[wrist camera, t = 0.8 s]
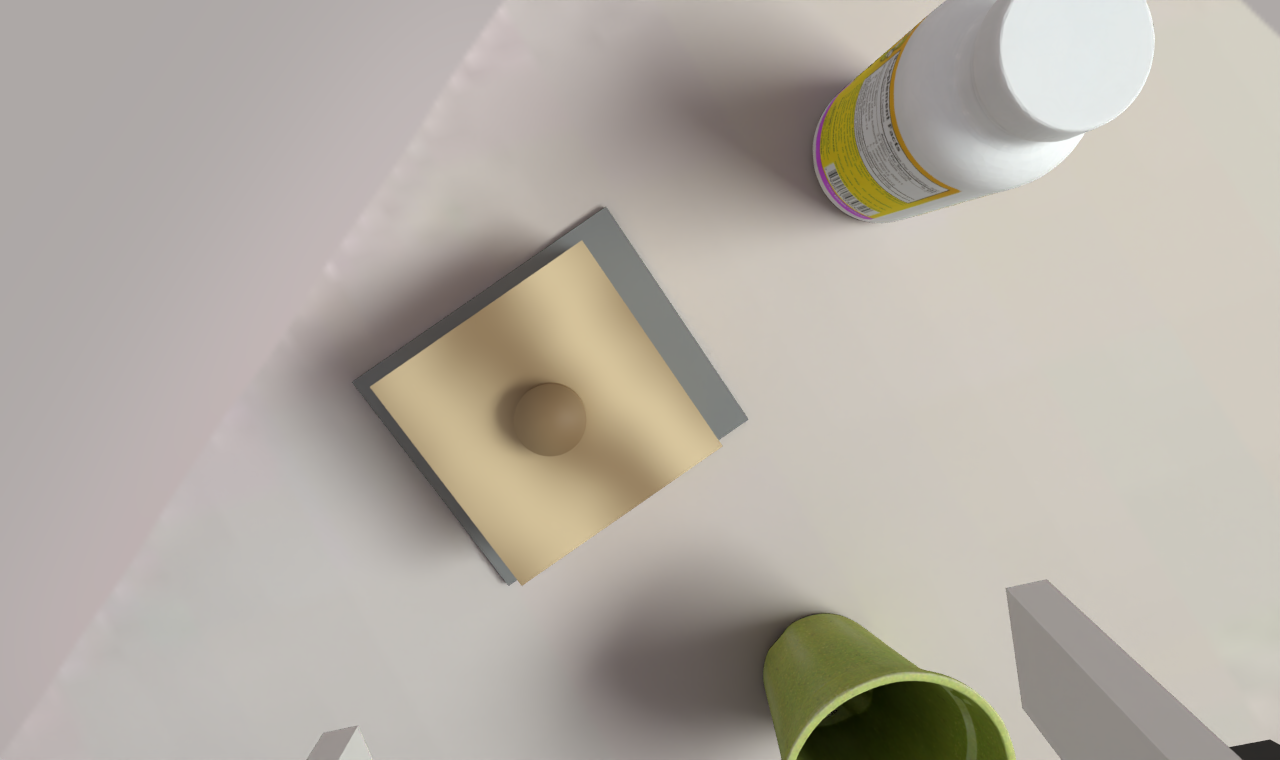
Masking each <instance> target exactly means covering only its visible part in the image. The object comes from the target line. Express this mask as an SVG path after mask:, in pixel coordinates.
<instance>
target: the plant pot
mask: <svg viewBox="0 0 1280 760" xmlns="http://www.w3.org/2000/svg"><path fill="white" fill-rule="evenodd" d="M763 681H764V687H765V691H766V695H767V700H768V704H769V708H770V712H771V716H772V720H773V724H774V728H775V732H776V736H777V741H778V745H779V749H780V754H781V758H782V759H781V760H1016V758H1015V752H1014V748H1013V745H1012V742H1011V738H1010V735H1009V733H1008V731H1007V729H1006V726H1005V724H1004V723H1003V721H1002V719H1001V718H1000V716H999V715H998V714H997V712H996V711H995V710H994V709H993V708H992V706H991V705H990V704H989V703H988V702H987V701H986V700H985V699H984V698H983V697H982V696H980V695H979V694H978V693H977V692H975V691H974V690H973V689H972V688H970V687H968V686H967V685H965V684H964V683H962V682H960V681H958V680H956V679H953V678H951V677H949V676H946V675H943V674H939V673H936V672H931V671H926V670H923V669H920V668H918V667H917V666H915V665H914V664H913V663H911V662H910V661H908V660H907V659H906V658H904V657H903V656H901V655H900V654H899V653H897V652H896V651H894V650H893V649H892V648H890V647H889V646H888V645H886V644H885V643H884V642H882V641H881V640H880V639H878V638H877V637H876V636H874V635H873V634H872V633H870V632H869V631H868V630H866V629H865V628H863V627H862V626H861V625H859V624H858V623H856V622H854V621H853V620H851V619H848V618H846V617H843V616H840V615H835V614H816V615H811V616H807V617H805V618H802V619H800V620H798V621H796V622H794V623H792V624H791V625H790V626H788V627H787V629H786V630H785V632H784V633H783V634H782V635H781V637H780V638H779V639H778V640H777V641H776V642H775V643H774V645H773V646H772V647H771V648H770V649H769V651H768V653H767V656H766V659H765V663H764V669H763ZM834 710H837V711H836V712H835V713H834V714H832V715H831V716H828V717H826V716H827V715H828V714H829V713H830V712H832V711H834Z"/></svg>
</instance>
